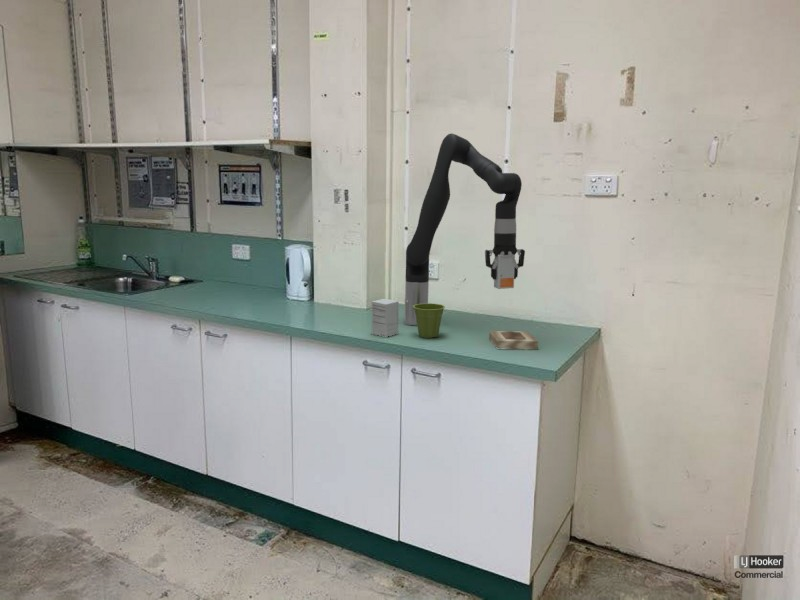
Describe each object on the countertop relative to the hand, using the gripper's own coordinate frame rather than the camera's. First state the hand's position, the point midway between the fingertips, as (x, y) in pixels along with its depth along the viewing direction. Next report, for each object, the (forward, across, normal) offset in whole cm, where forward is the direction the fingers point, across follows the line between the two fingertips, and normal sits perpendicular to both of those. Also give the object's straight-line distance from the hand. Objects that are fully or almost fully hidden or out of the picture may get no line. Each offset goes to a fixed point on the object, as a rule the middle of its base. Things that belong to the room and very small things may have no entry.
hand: (504, 278), depth 205 cm
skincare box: (+3, 0, 0) cm, 3 cm away
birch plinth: (+23, +2, -4) cm, 23 cm away
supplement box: (+22, -42, +10) cm, 48 cm away
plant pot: (+22, -26, +8) cm, 35 cm away
